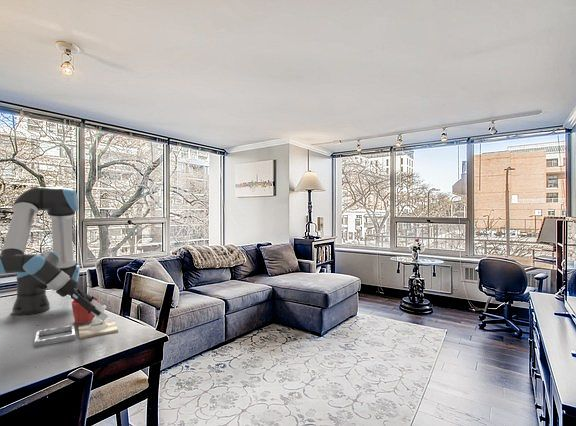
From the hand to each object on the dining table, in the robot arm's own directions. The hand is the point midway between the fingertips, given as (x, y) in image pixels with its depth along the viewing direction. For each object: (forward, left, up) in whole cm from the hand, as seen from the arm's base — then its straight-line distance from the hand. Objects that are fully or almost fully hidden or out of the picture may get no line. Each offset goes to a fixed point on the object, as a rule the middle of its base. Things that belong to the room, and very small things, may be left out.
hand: (104, 314), depth 141 cm
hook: (0, -2, -6) cm, 6 cm away
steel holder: (0, -17, -7) cm, 19 cm away
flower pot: (-17, -6, -7) cm, 19 cm away
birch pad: (0, -2, -7) cm, 7 cm away
